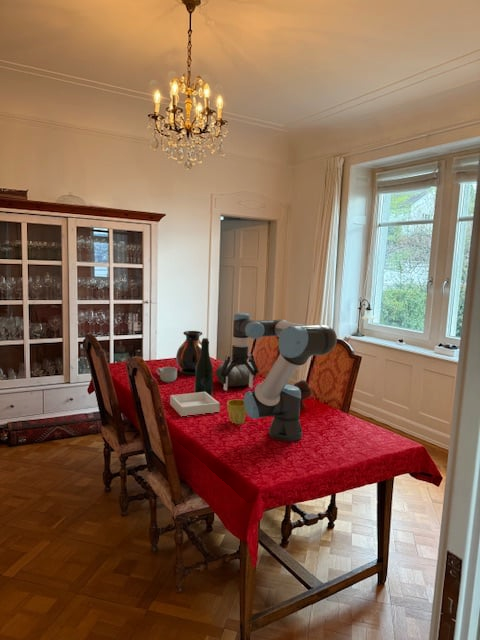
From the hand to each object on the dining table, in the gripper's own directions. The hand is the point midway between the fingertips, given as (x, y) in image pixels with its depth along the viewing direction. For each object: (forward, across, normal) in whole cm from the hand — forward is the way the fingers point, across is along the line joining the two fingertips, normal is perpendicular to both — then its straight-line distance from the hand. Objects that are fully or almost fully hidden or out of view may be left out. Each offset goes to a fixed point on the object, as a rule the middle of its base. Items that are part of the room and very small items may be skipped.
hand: (238, 388), depth 213 cm
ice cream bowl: (+17, -43, -9) cm, 47 cm away
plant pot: (+17, 0, 0) cm, 17 cm away
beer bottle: (+17, 0, -45) cm, 48 cm away
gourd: (+17, -26, -58) cm, 66 cm away
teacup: (+18, +12, -79) cm, 81 cm away
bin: (+17, +13, -25) cm, 33 cm away
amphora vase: (+18, -10, -93) cm, 95 cm away
